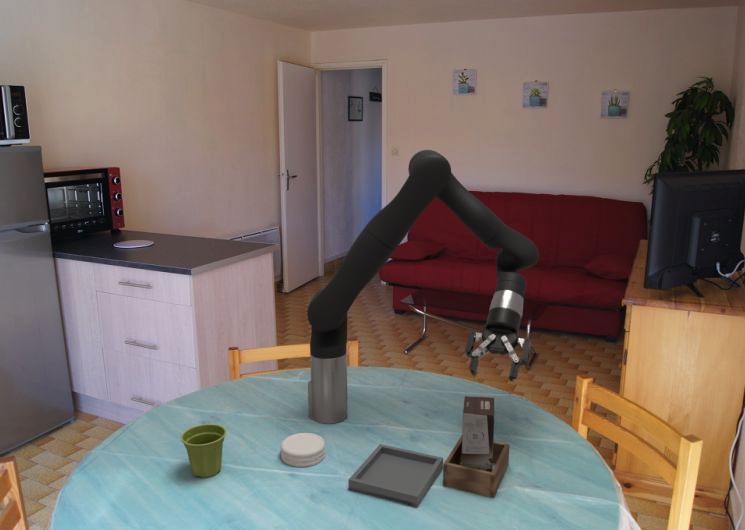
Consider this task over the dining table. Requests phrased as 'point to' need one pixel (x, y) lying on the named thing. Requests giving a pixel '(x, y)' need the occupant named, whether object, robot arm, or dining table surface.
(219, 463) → the plant pot
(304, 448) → the coaster
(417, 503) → the tray
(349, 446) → the dining table surface
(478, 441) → the coffee box
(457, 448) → the wooden frame
